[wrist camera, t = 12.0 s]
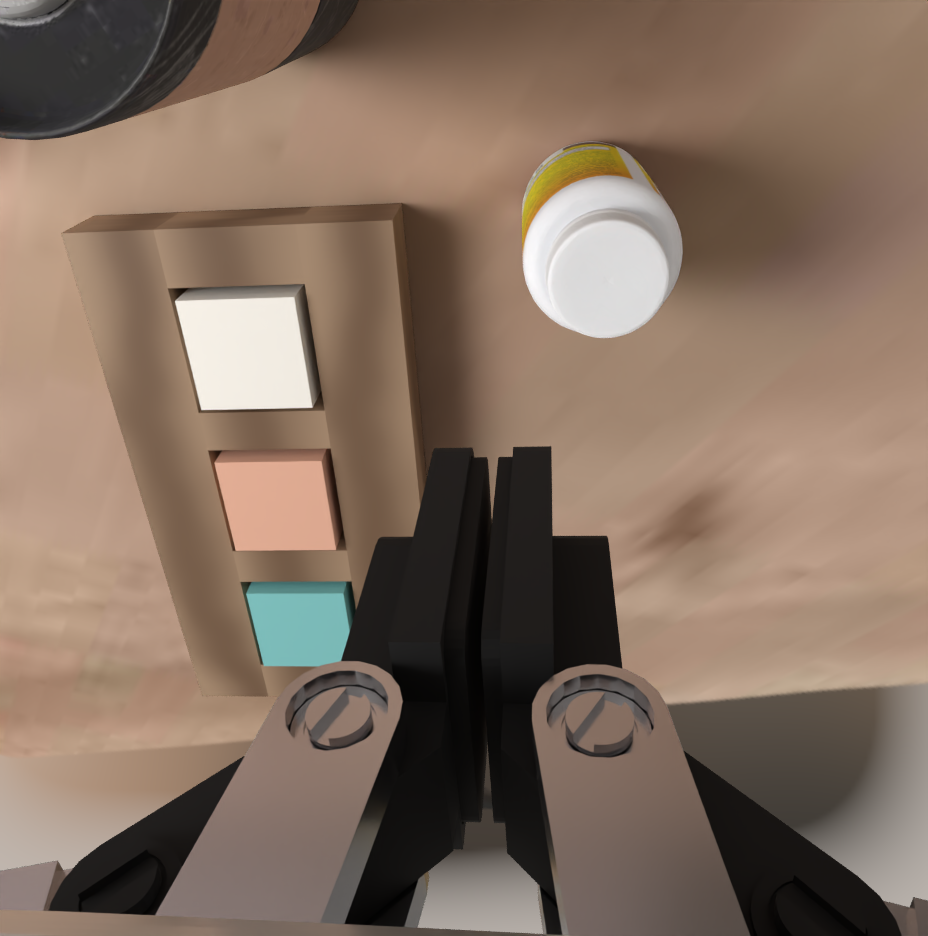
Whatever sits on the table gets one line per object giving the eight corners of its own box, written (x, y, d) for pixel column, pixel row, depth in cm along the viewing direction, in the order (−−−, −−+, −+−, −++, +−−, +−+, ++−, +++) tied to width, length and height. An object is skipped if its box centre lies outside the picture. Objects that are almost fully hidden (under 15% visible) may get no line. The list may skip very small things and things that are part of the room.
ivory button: (310, 275, 37) (294, 297, 34) (326, 380, 39) (312, 407, 37) (199, 279, 37) (174, 300, 35) (222, 382, 40) (201, 410, 37)
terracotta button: (334, 431, 41) (321, 461, 38) (347, 516, 43) (336, 550, 41) (233, 433, 41) (214, 462, 39) (252, 517, 44) (235, 550, 41)
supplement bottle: (497, 225, 36) (488, 304, 27) (572, 110, 33) (591, 155, 24) (598, 294, 37) (622, 390, 28) (679, 188, 34) (734, 257, 25)
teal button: (353, 558, 45) (343, 593, 42) (364, 629, 47) (355, 666, 45) (261, 559, 45) (246, 593, 43) (277, 629, 48) (263, 666, 45)
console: (401, 203, 35) (392, 220, 33) (443, 660, 49) (438, 697, 46) (93, 215, 36) (61, 233, 34) (218, 659, 50) (201, 695, 48)
